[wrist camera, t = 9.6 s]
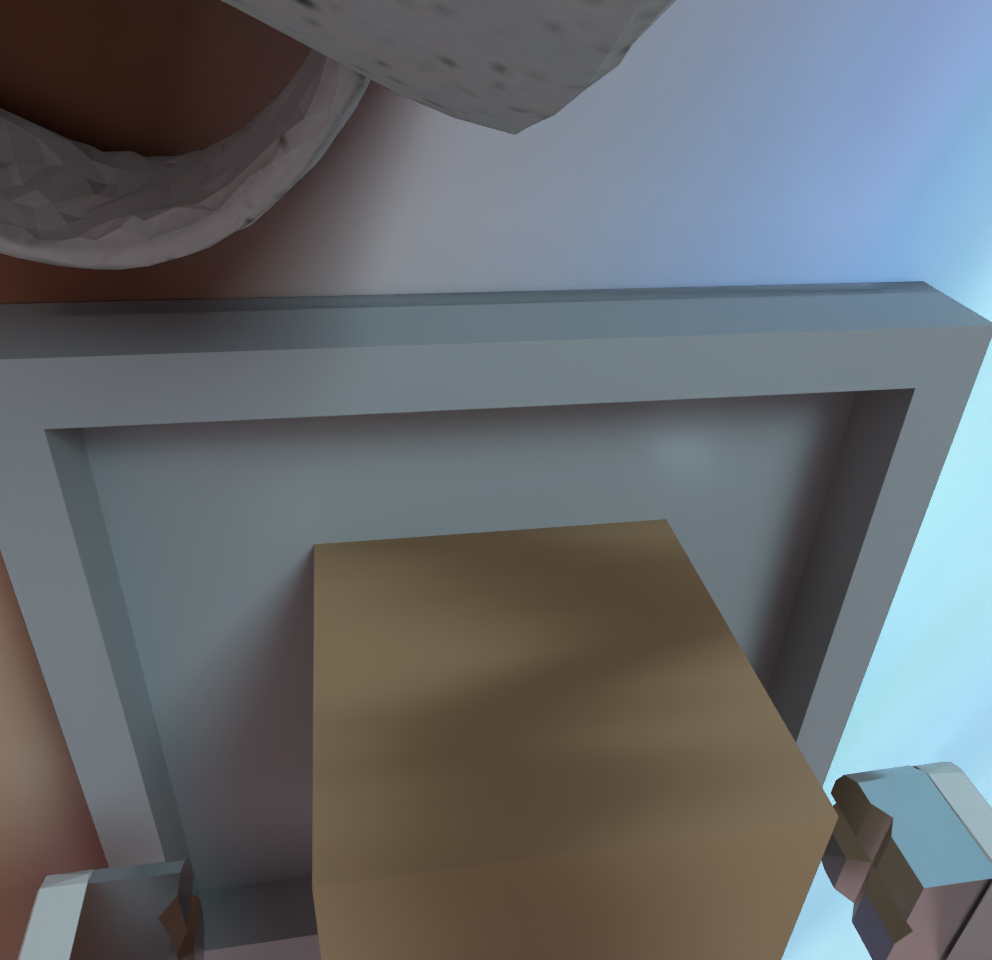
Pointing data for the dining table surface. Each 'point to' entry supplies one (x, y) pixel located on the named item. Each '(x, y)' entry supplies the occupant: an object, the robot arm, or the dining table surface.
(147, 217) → the ceramic mug
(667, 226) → the dining table surface
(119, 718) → the tray
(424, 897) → the walnut block
